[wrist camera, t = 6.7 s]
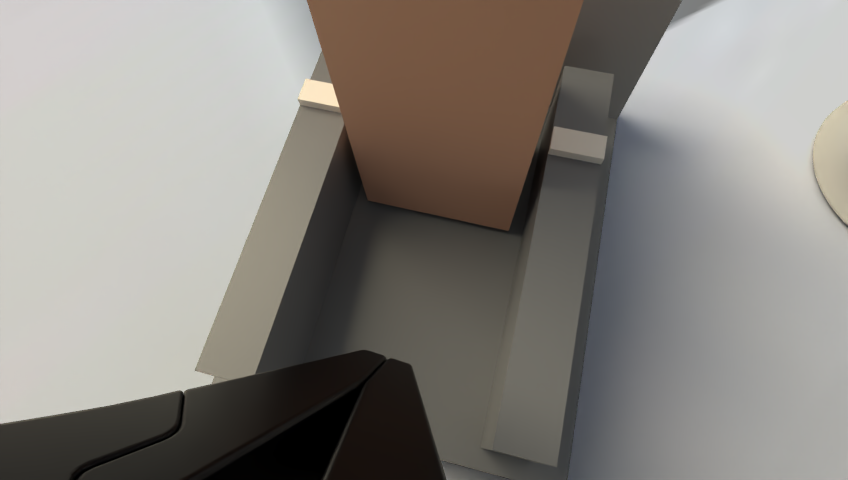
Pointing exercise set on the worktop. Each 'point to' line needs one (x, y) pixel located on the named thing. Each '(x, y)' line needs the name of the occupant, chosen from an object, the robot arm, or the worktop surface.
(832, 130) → the beer glass
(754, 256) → the worktop surface
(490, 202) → the plug
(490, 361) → the socket track
